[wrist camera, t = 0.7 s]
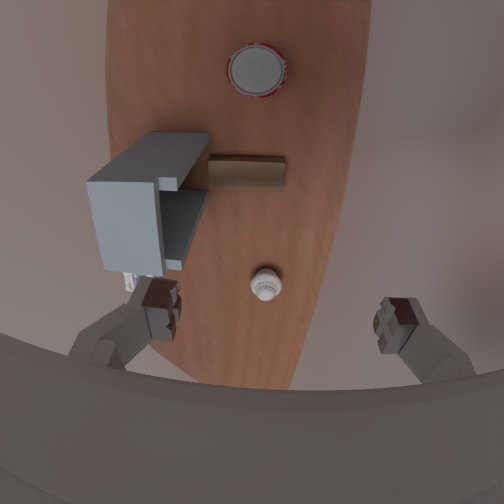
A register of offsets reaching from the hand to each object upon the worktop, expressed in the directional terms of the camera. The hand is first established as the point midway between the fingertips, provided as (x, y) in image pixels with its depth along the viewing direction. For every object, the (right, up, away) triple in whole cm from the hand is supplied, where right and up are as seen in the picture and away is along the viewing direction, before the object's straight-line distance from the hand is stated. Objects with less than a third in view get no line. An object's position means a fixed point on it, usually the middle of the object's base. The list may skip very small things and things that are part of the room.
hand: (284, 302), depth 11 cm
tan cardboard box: (-2, +16, +38) cm, 41 cm away
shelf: (-14, +17, +37) cm, 43 cm away
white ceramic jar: (+2, -3, +50) cm, 51 cm away
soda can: (0, +29, +28) cm, 40 cm away
